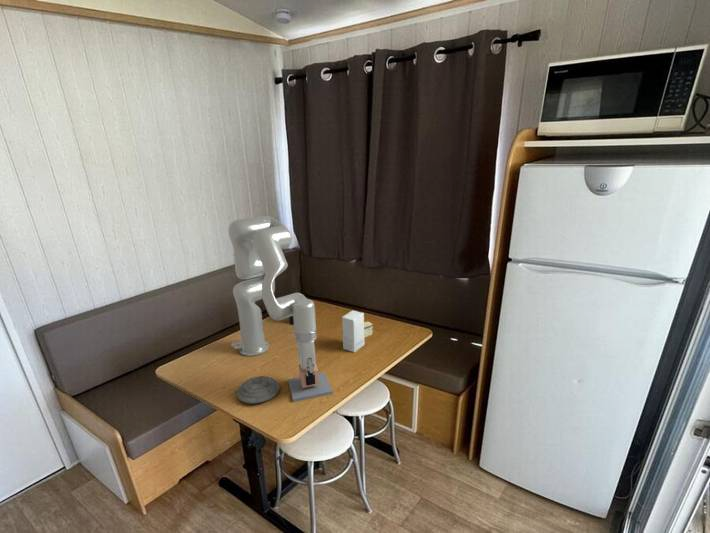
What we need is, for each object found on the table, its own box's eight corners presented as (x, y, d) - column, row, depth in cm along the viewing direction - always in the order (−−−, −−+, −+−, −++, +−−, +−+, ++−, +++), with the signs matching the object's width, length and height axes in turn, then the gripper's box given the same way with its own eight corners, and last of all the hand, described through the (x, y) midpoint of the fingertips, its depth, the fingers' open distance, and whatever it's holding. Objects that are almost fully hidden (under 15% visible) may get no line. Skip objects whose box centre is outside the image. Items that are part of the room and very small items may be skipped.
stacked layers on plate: (368, 329, 182) (368, 318, 180) (378, 336, 174) (378, 325, 173) (350, 334, 177) (350, 323, 175) (360, 341, 169) (359, 330, 168)
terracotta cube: (302, 388, 132) (301, 373, 130) (299, 378, 138) (298, 364, 136) (319, 384, 134) (318, 369, 132) (315, 375, 139) (314, 361, 138)
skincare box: (353, 341, 169) (352, 309, 165) (365, 345, 165) (365, 312, 161) (342, 349, 163) (341, 316, 158) (354, 353, 159) (353, 319, 154)
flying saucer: (254, 378, 144) (253, 365, 142) (288, 386, 138) (286, 373, 136) (227, 401, 130) (225, 387, 129) (263, 411, 125) (261, 396, 123)
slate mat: (293, 402, 128) (292, 399, 128) (288, 381, 140) (288, 379, 140) (332, 393, 132) (332, 391, 132) (324, 374, 144) (324, 372, 144)
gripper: (291, 325, 137) (295, 369, 142) (298, 347, 121) (302, 395, 126) (311, 322, 139) (314, 365, 144) (321, 343, 123) (324, 390, 128)
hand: (309, 378), depth 135 cm, fingers closed on terracotta cube, 5 cm apart
